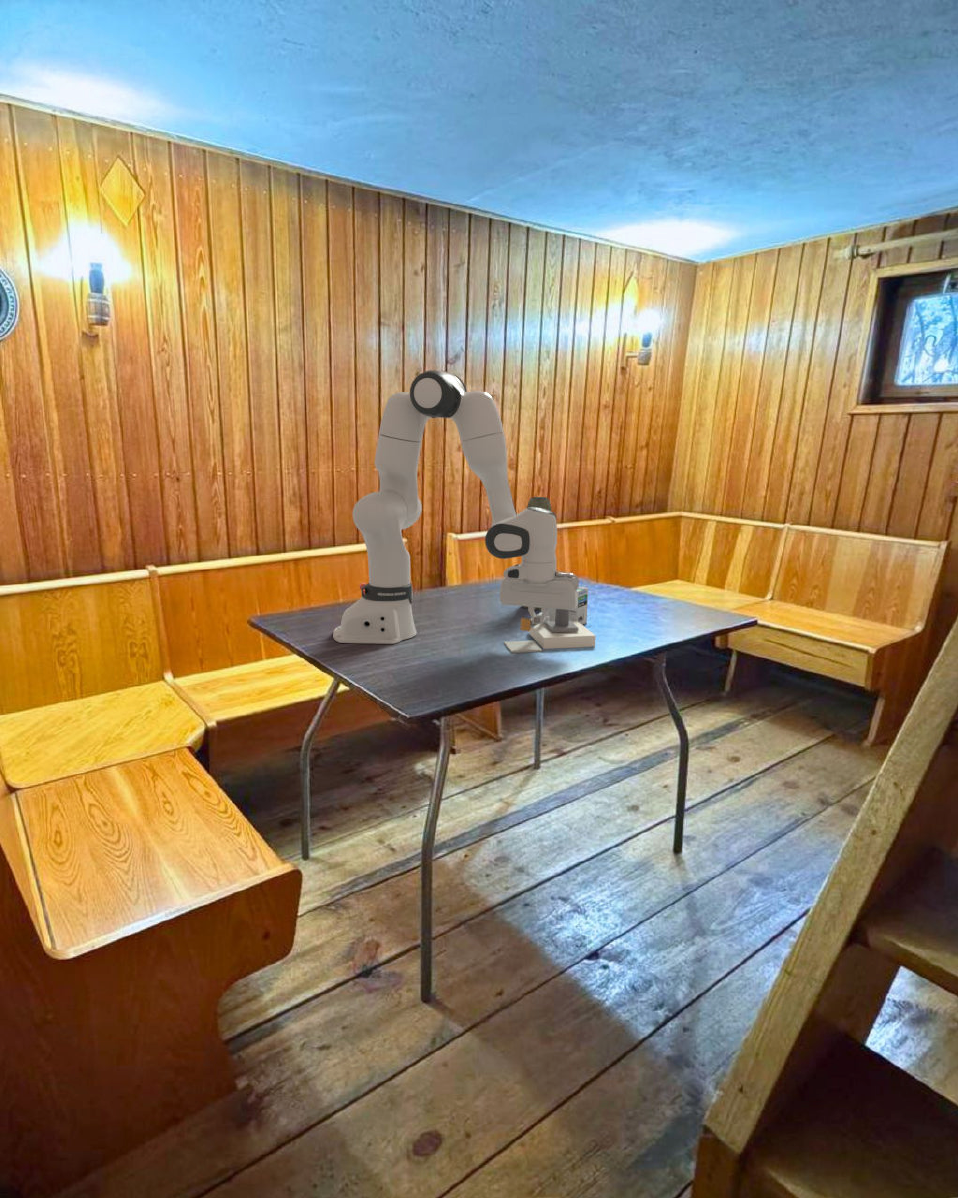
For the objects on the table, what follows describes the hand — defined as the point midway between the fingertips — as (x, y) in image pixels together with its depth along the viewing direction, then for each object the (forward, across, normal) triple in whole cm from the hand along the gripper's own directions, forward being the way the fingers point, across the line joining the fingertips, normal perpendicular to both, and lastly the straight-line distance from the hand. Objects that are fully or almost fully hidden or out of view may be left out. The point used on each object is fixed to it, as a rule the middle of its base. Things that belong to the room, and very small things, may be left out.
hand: (537, 623), depth 178 cm
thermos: (+6, +10, -40) cm, 41 cm away
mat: (+6, +3, +3) cm, 7 cm away
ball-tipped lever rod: (+3, +1, -4) cm, 5 cm away
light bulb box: (+6, -2, -25) cm, 26 cm away
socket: (+6, -5, -7) cm, 10 cm away
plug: (+6, -5, -7) cm, 10 cm away
